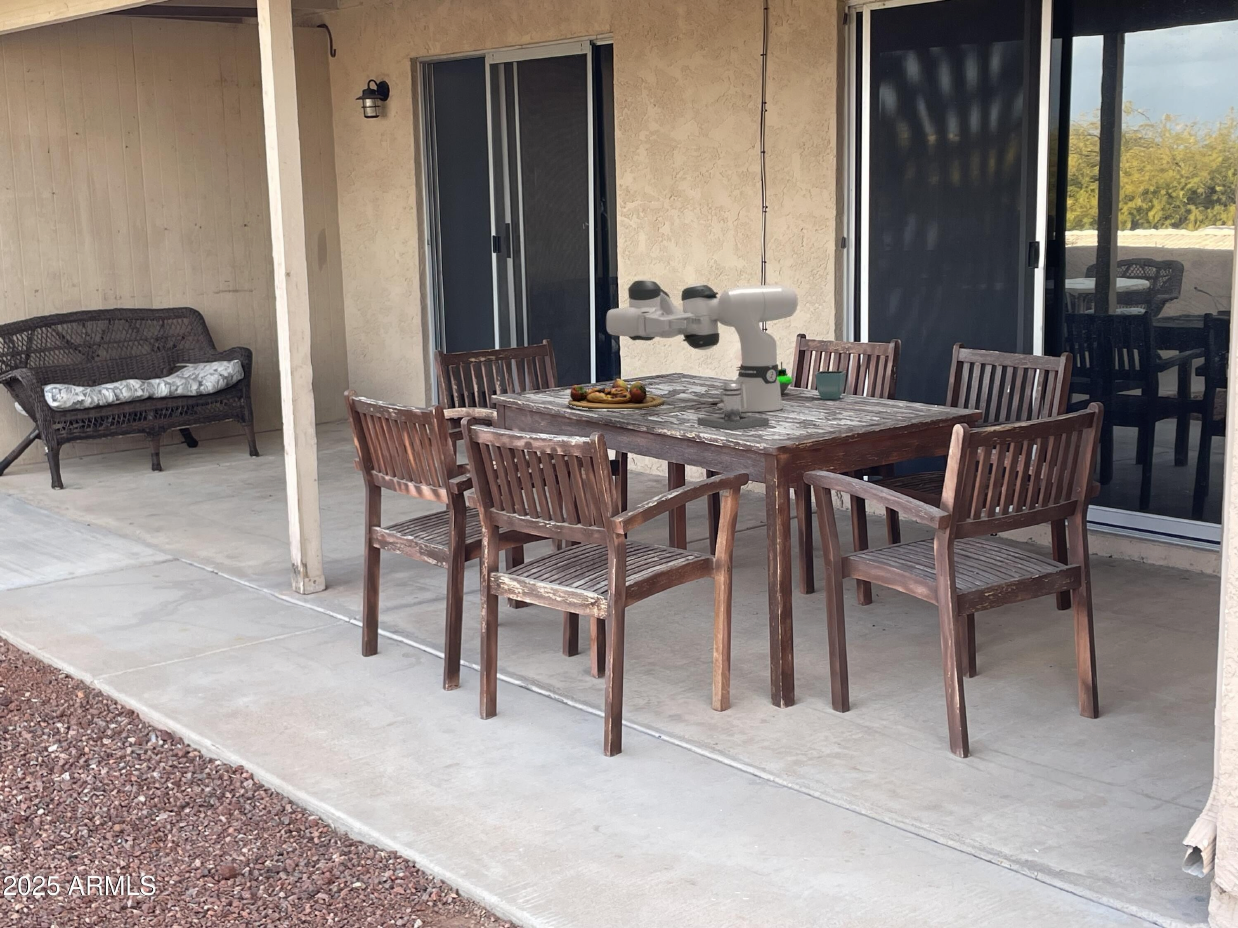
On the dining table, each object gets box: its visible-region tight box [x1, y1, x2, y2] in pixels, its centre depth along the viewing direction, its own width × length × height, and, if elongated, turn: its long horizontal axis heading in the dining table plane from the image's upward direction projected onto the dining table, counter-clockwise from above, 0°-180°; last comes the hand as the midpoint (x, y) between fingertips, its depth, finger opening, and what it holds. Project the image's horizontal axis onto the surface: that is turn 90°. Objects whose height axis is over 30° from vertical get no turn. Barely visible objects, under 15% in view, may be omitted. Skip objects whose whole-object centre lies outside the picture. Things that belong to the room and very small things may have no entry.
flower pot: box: [814, 370, 847, 401], centre depth 456 cm, size 9×9×9 cm
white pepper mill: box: [722, 382, 742, 420], centre depth 405 cm, size 5×5×12 cm
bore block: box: [696, 413, 770, 431], centre depth 406 cm, size 16×14×2 cm
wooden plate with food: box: [567, 378, 665, 409], centre depth 459 cm, size 32×32×8 cm
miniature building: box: [777, 361, 793, 395], centre depth 473 cm, size 12×12×11 cm
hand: (694, 322), depth 407 cm, fingers open, 8 cm apart
